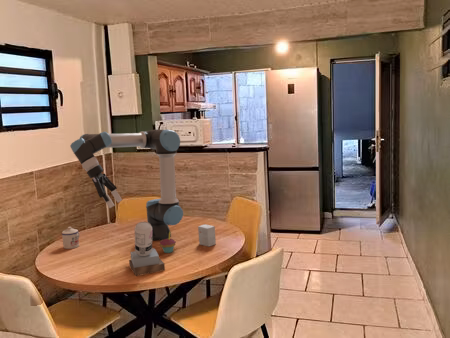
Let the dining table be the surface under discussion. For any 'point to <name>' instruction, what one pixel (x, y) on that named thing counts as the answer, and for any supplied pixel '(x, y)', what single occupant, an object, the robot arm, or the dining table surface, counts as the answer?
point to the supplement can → (143, 239)
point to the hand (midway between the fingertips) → (116, 204)
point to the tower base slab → (147, 268)
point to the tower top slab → (144, 259)
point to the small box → (206, 235)
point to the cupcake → (167, 244)
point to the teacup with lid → (70, 238)
